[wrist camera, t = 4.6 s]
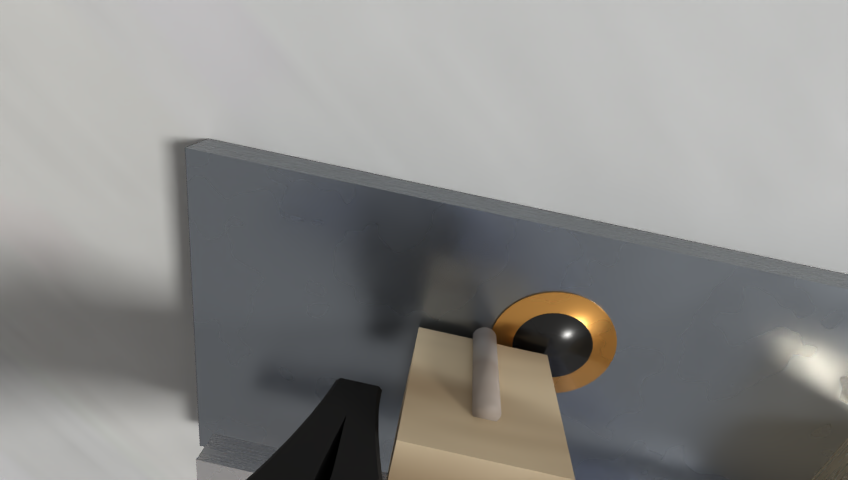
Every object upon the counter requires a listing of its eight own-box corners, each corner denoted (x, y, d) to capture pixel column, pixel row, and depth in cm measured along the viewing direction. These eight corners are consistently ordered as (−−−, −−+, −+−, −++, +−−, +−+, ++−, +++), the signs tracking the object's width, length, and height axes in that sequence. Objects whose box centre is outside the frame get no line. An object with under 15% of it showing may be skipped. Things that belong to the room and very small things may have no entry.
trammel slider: (515, 437, 15) (528, 572, 11) (399, 411, 15) (374, 538, 11) (553, 340, 13) (583, 463, 9) (422, 312, 13) (400, 422, 9)
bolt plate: (860, 566, 18) (887, 603, 17) (216, 421, 18) (198, 447, 17) (1110, 330, 13) (1174, 360, 12) (208, 138, 13) (182, 148, 12)
